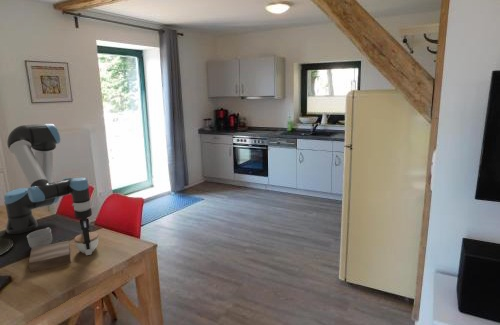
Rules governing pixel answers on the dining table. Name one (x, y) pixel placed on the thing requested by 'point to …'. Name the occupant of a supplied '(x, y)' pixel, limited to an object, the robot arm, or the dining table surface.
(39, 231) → the teacup
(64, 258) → the walnut block
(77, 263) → the dining table surface
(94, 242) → the lidded jar
